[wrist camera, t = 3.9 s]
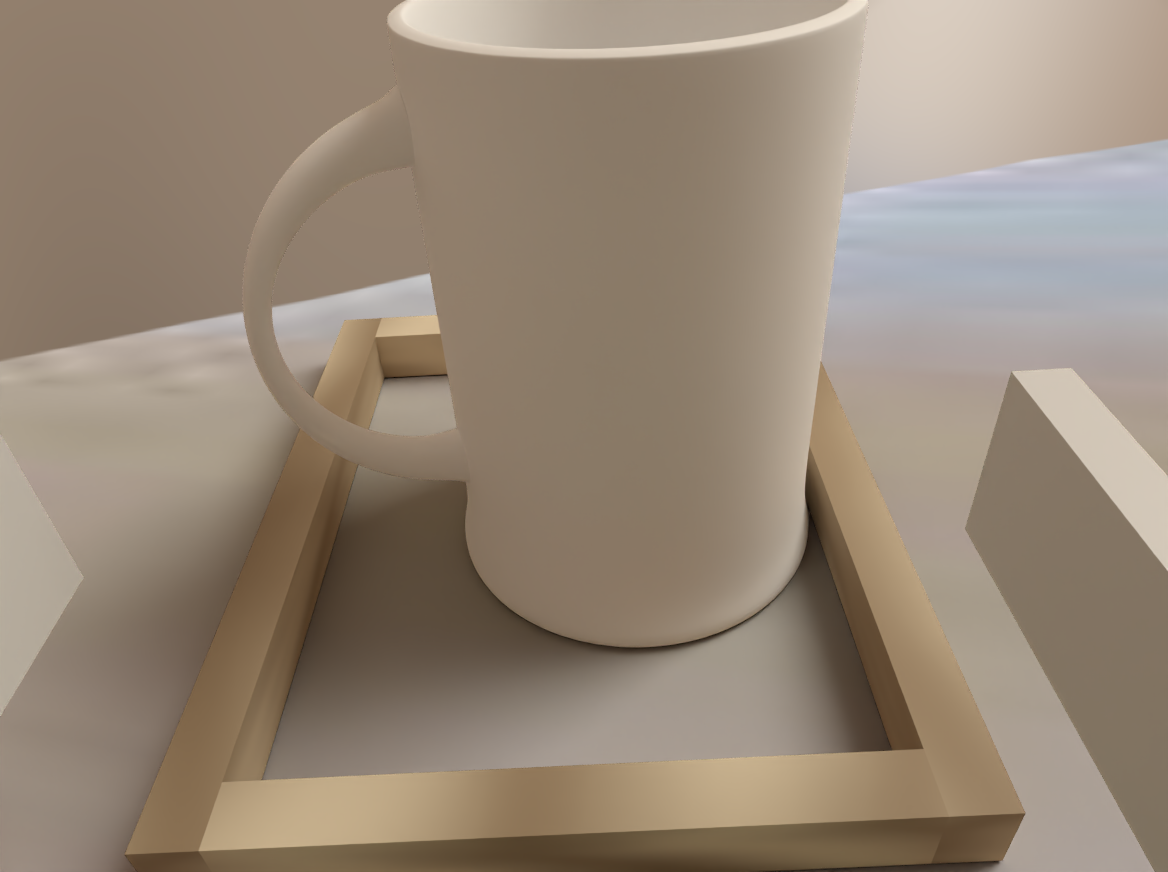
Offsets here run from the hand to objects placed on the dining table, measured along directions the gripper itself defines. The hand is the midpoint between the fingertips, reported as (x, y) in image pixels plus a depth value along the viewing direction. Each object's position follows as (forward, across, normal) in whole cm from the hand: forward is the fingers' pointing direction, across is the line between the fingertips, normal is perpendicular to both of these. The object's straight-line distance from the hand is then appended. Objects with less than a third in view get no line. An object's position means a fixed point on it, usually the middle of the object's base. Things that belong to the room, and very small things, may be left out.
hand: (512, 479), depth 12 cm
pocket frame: (+7, 0, -7) cm, 10 cm away
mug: (+7, 0, -8) cm, 10 cm away
